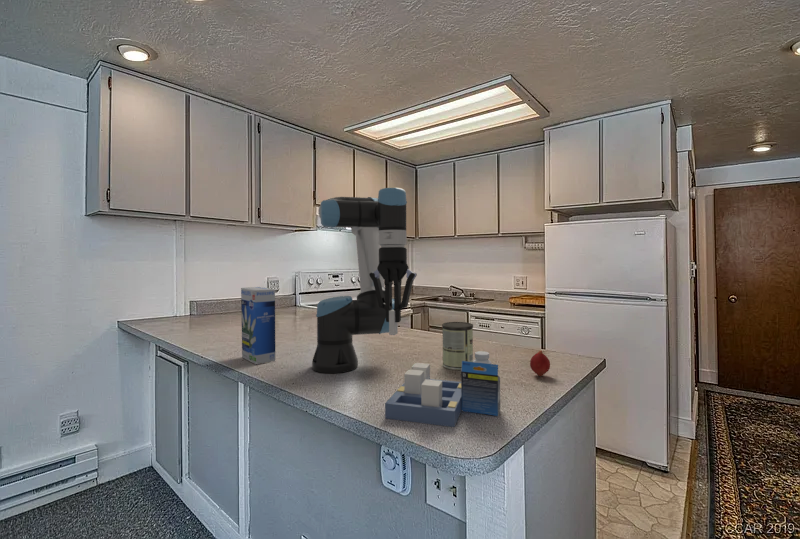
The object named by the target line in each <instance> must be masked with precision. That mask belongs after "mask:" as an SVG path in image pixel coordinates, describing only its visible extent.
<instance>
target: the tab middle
mask: <svg viewBox="0 0 800 539" xmlns="http://www.w3.org/2000/svg"><path fill="white" fill-rule="evenodd" d="M403 376H404V377H403V378H404V379H403V380H404V381H403V384H404V393H410V394H419V395H421V385H422V383H423V382H424V371H420V370H412V369H408V370H406V372H405V373H404V375H403Z"/></svg>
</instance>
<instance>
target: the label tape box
mask: <svg viewBox="0 0 800 539" xmlns="http://www.w3.org/2000/svg"><path fill="white" fill-rule="evenodd" d="M478 366H480V367H481V368H485V371H481V370H474V369H473V367H478ZM460 378H461V380H460V382H461V412H465V413H472V414H480V415H481V414H482V415H488V416H493V417H499V414H500V411H501V377H500V376H499V364H497V363H496V364H493V363H492V364H486V363H477V362H469V361H462V368H461V370H460Z"/></svg>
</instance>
